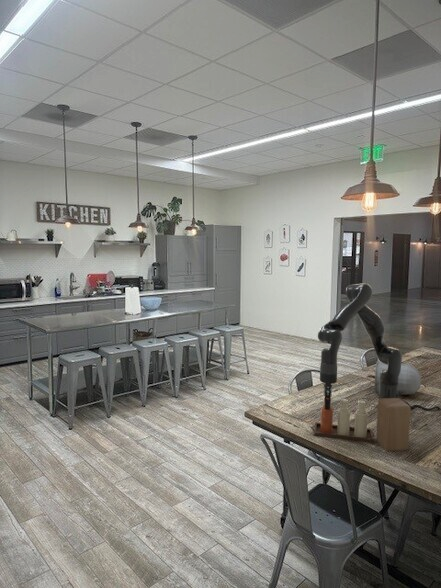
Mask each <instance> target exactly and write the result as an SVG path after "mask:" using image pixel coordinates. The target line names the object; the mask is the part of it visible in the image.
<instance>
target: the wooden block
mask: <svg viewBox="0 0 441 588" xmlns="http://www.w3.org/2000/svg"><path fill="white" fill-rule="evenodd" d="M404 401H405V400H402V398H401V399H399V398H381V399H379V398H378V399H377V415H376V432H375V433H376V434H375V440H376V442H377V443H378V444H379V445H380V446H381V447H382V448H383V449H384V450H385V451H386V452H396V451H397V452H399V451H408V450H409V440H410V439H409V437H410V426H411V425H410V424H411V423H410V422H411V409H412V408H410V406H411V405H410V406H409V405H408V404H406V403H405V402H406V401H405V402H404Z"/></svg>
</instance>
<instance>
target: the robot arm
mask: <svg viewBox="0 0 441 588" xmlns="http://www.w3.org/2000/svg"><path fill="white" fill-rule="evenodd" d="M345 294H346V298H347V300H348V302H349V303H347V304H346V305H344V306H343V307H341V308H340V309H339V310H338V311H337V312H336V313H335V315H334V316H333V317H332V319H331V320H329V321H328V322H327V323H325V324H324V325H322V327H321V328H319V330H318V332H317V339H318V341H319V342H320V343H323V344H327V345H330V347H325V348H322V349H321V353H320V354H321V355H320V365H319V381H320V382H321V383H323V397H325V400H324V399H323V402H324V401H325V409H326V410H329V409H330V401H331V402H332V397H333V396H332V395H333V384H336V383H337V382H338V352H339V349H340V346H341V343H342V340H343V335H342V332H343V331H344V330H345V329H346V328H347V326H348V325H349V323H350V322H351V320H352V319H353V318H354V316H356V314H357V316H358V319H360V322H361V324H362V326H363V328H364V330H365V331H366V334H367V336H368V337H369V340H370V342H371V344H372V346H373V349H374V351H375V355H376V357H377V359H378V361H379V362H382V363H384V364H387V365H388V369H387V370H382V371H381V372H380V384H379V394H378V399H381V398H399V399H401V400H402V398H401V396H399V395H400V393H399V392H398V382H399V375H400V372H401V364H403V363H402V362H403V354H402V351H401V350H400V349H398V348H394V347H390V346H389V345H388V344H387V343H386V341H385V338H384V337H385V334H386V327H385V323H384V322H383V320H382V318H381V317H380V315H379V314H378V313H376V312H375V311H374V310H373V309H371V308H370V307H369V306H368V305H367V304H368V303H369V302H370V301H371V299H372V298H373V297H372V296H373V288H372V287H371V285H370V284H368V283H353V284H349V285H347V287H346V289H345ZM326 398H329V399H326ZM330 398H331V400H330ZM403 401H404V402H405V403H406V404H408V405H409V406H410V408H411V409H414V408H416V407H418V408H420V409H422V410H424V411H433V410H436V409H438V410H441V407H440V406H437V405H435V406H433V407H431V408H427V407H424V406H422V405H420V404H413V405H412V406H411V405H410V404H411V403H409V402H407V401H405V400H403Z"/></svg>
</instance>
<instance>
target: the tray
mask: <svg viewBox="0 0 441 588" xmlns="http://www.w3.org/2000/svg"><path fill="white" fill-rule="evenodd" d="M320 425H321V422H314V432H313V436H315V437H322V438H330V439H331V438H332V439H339V440H347V441H353V442H360V443H370V444H371V443H372V444H374V443H375V437H374V434H373V429H372V428H367V437H366V438H362V437H355V436H354V426H350V430H349V436H346V435H338V434H337V424H333V427H332V433H331V434H330V433H322V432H321V431H320Z"/></svg>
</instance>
